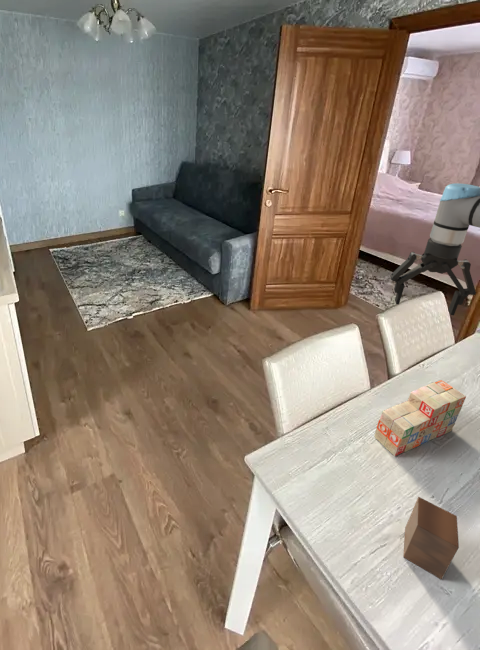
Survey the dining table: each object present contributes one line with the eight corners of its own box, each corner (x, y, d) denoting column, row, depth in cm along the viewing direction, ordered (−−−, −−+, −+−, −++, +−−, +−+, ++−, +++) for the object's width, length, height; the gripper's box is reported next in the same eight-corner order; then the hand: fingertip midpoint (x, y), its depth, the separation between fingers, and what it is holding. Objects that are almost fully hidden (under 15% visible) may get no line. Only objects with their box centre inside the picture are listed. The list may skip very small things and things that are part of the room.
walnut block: (440, 547, 67) (456, 515, 64) (441, 580, 63) (459, 547, 59) (405, 528, 71) (418, 496, 67) (403, 557, 66) (417, 525, 62)
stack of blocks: (394, 457, 85) (407, 421, 80) (373, 436, 90) (384, 401, 85) (452, 430, 92) (467, 395, 87) (428, 412, 97) (441, 378, 93)
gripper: (497, 243, 92) (471, 310, 101) (391, 230, 102) (374, 292, 110) (509, 253, 86) (479, 324, 94) (394, 238, 95) (376, 304, 103)
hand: (423, 307), depth 102 cm, fingers open, 13 cm apart
